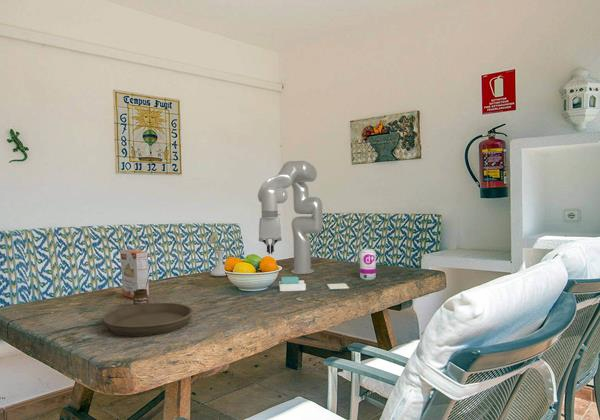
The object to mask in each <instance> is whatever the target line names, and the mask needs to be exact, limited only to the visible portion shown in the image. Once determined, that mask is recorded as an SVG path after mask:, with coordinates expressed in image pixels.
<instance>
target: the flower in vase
mask: <svg viewBox="0 0 600 420" xmlns="http://www.w3.org/2000/svg"><path fill="white" fill-rule="evenodd" d="M218 234H219V233H218V232H217V231H214V232H213V233H212V234H211V235H210V237H209V239H208V244H213V243H214V242H215V243H216V245H215V246H214V247H213V250H215V252H216V254H217V259H218V263H217V265H216V266H215V267H214V268H213V269H211V271H210V275H211V276H213V277H227V276H226V274H225V272H224V267H226V265H224V263H223V257H224V253H226V252H225V250H221V249H223V247H224V246H223V244H222V243H220V244H218V242H217V241H218V240H217V237H218ZM217 249H218V250H217Z"/></svg>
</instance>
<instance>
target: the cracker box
mask: <svg viewBox="0 0 600 420" xmlns="http://www.w3.org/2000/svg"><path fill="white" fill-rule="evenodd" d="M148 259H149V255H148V251H142V250H137V249H124V250H123V249H122V250H120V263H121V265H120V266H121V283H122V285H121V286H122V290H121V291H122V296H123V297H127V298H129V299H133V296H134V290H137V289H145V288H146V289H147V294H148V299H150V287H149V286H150V282H149V279H148V277H149V260H148ZM147 279H148V284H147V287H146V283H147ZM136 281H138V282H136ZM137 283H139V284H137ZM133 284H134V285H133ZM136 287H137V288H136ZM138 287H139V288H138Z"/></svg>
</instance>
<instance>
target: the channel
mask: <svg viewBox="0 0 600 420" xmlns="http://www.w3.org/2000/svg"><path fill="white" fill-rule="evenodd" d="M306 285H307V284H306V283H305V280H300V279H299V284H281V280H279V281H278V287H279V291H280V292H295V291H296V292H298V291H306V290H307V288H306V287H307V286H306Z"/></svg>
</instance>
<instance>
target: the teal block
mask: <svg viewBox="0 0 600 420" xmlns="http://www.w3.org/2000/svg"><path fill="white" fill-rule="evenodd" d="M280 278H281V280H280V281H281V284H299V280H300V278H299V276H280Z"/></svg>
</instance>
